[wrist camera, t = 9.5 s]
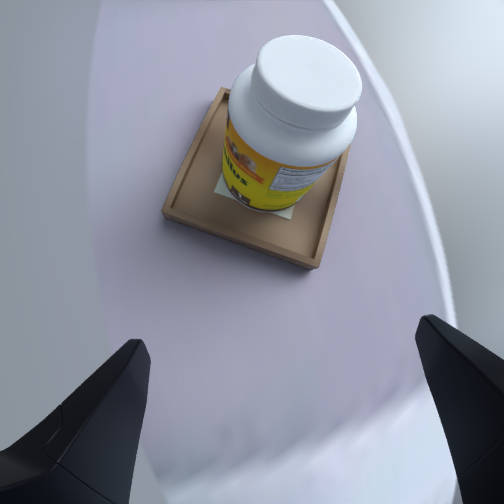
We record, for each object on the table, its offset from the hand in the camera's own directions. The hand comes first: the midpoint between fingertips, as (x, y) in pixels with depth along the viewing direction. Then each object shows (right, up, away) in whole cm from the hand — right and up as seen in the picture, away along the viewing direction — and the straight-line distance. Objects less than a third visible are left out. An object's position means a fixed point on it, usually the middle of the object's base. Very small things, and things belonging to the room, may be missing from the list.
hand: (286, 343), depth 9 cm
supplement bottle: (0, +8, +10) cm, 13 cm away
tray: (0, +8, +11) cm, 13 cm away
